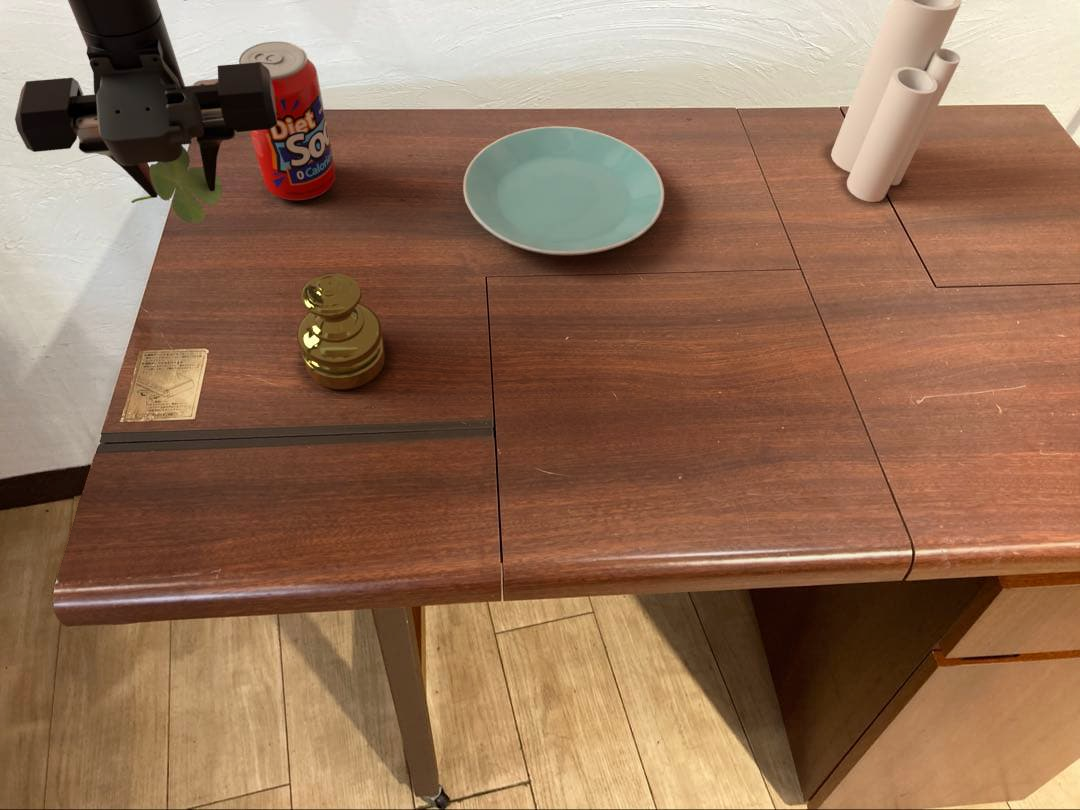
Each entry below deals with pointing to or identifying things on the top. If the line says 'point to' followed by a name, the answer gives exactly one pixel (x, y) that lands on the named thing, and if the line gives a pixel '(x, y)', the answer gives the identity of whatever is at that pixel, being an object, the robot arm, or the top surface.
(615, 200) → the plate
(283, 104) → the soda can
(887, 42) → the vase
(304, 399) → the top surface
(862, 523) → the top surface
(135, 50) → the robot arm
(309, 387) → the top surface
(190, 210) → the green clover leaf
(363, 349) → the brass weight
